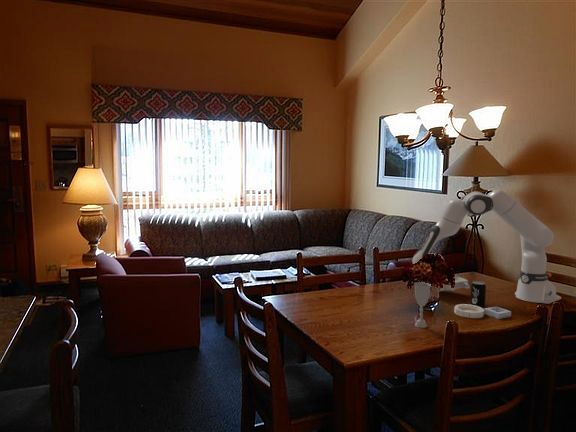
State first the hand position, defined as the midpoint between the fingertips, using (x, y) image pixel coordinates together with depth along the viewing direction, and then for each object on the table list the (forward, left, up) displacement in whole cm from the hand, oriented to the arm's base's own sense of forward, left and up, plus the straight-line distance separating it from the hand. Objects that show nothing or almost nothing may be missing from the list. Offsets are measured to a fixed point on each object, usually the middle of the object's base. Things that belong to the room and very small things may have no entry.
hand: (461, 288), depth 223 cm
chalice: (+43, +19, -7) cm, 48 cm away
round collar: (+12, +16, -7) cm, 21 cm away
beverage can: (0, +10, -7) cm, 12 cm away
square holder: (+2, +23, -7) cm, 24 cm away
